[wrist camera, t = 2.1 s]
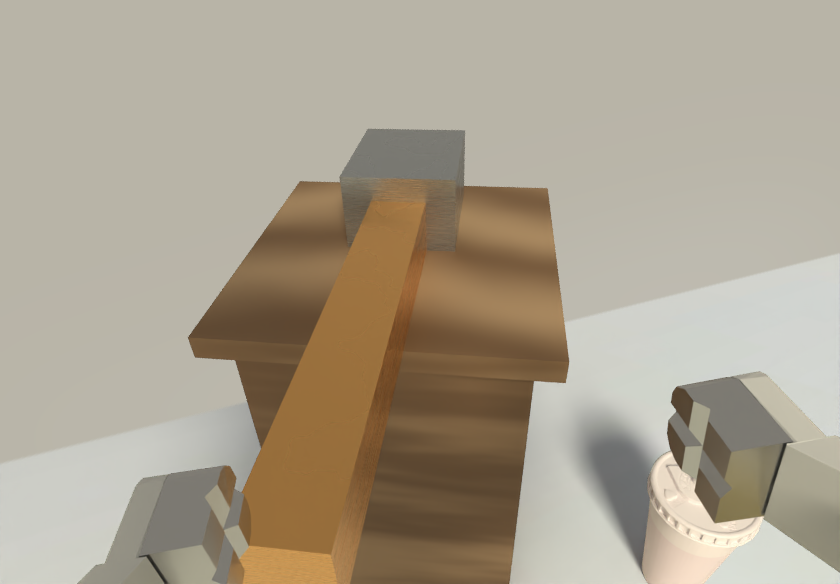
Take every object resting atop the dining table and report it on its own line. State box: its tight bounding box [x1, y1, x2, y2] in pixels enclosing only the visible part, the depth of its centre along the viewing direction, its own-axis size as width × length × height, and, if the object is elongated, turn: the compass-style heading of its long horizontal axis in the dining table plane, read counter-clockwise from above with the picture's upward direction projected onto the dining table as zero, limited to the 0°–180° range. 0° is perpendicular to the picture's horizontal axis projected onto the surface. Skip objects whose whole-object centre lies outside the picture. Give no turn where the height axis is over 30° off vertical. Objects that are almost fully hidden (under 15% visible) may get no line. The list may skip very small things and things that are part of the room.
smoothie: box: [642, 451, 764, 584], centre depth 35 cm, size 6×6×14 cm
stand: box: [188, 181, 569, 584], centre depth 33 cm, size 14×14×26 cm
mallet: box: [239, 129, 465, 584], centre depth 21 cm, size 22×5×4 cm, turn 173°
